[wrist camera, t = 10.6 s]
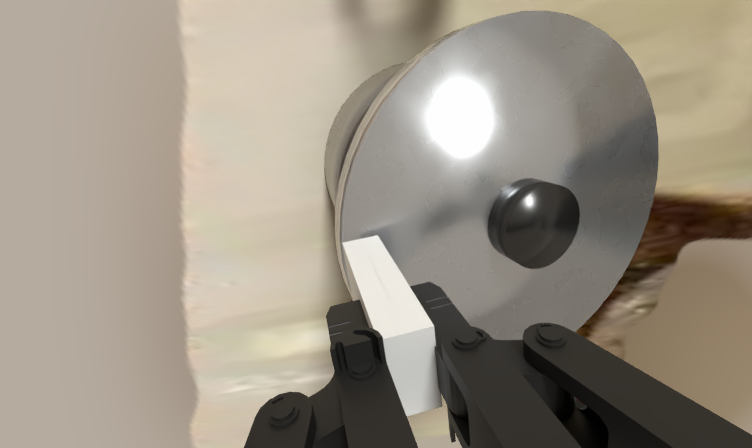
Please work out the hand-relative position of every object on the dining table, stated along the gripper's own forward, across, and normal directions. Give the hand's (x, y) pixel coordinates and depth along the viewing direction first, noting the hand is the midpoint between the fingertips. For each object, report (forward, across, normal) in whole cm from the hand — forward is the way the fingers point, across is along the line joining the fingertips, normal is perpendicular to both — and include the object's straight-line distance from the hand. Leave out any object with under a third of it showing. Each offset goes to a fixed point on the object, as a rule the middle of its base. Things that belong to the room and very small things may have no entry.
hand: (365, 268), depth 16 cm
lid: (+3, -8, 0) cm, 9 cm away
